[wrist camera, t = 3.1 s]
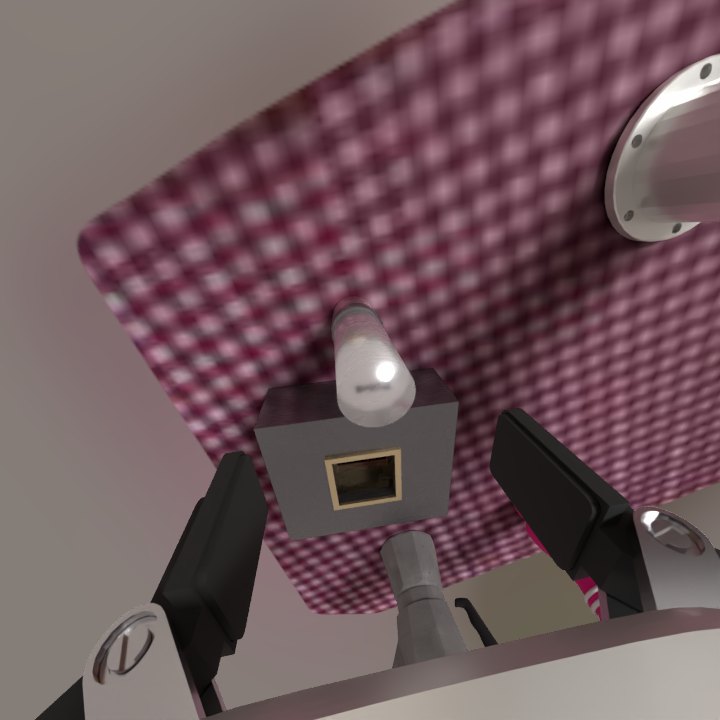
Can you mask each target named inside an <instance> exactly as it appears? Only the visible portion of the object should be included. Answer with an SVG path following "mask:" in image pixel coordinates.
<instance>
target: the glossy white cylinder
mask: <svg viewBox="0 0 720 720" xmlns="http://www.w3.org/2000/svg"><path fill="white" fill-rule="evenodd" d="M331 330H332V340H333V343H334V351H335V368H336V386H337V402H338V406H339V408H340V410H341V412H342V413H343V415H344V416H345V417H346V418H347V419H348V420H350V421H351V422H353V423H355V424H357V425H360V426H364V427H381V426H385V425H389V424H391V423H393V422H395V421H397V420H398V419H400V418H401V417H402V416H404V415H405V414H406V413H407V412H408V410H409V409H410V407H411V406H412V404H413V401H414V399H415V393H416V388H415V382H414V380H413V378H412V376H411V374H410V372H409V371H408V369H407V367H406V366H405V364H404V362H403V360H402V359H401V357H400V355H399V354H398V352H397V350H396V348H395V347H394V345H393V343H392V342H391V340H390V338H389V337H388V335H387V333H386V331H385V330H384V326H383V323H382V321H381V319H380V317H379V316H378V314H377V313H376V311H375V310H374V309H373V308H372V307H371V306H370V304H369V303H368V302H367V301H366V300H365V299H363V298H361V297H357V296H350V297H346V298H344V299H342V300H341V301H339V302H338V303H337V305H336V306H335V308H334V310H333V320H332V325H331Z"/></svg>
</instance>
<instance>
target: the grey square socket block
mask: <svg viewBox="0 0 720 720" xmlns="http://www.w3.org/2000/svg"><path fill="white" fill-rule="evenodd" d="M409 372H410V374H411V376H412V378H413V380H414V382H415V388H416V393H415V399H414V401H413V404H412V406H411V407H410V409H409V410H408V412H407V413H406V414H405V415H404V416H402V417H401V418H400V419H398V420H397V421H395V422H393V423H391V424H389V425H385V426H381V427H364V426H360V425H357V424H355V423H353V422H351V421H350V420H348V419H347V418H346V417H345V416H344V415H343V413H342V412H341V410H340V408H339V406H338V402H337V386H336V380H334V381H326V382H318V383H310V384H302V385H294V386H287V387H279V388H271V389H269V390H268V392H267V395H266V398H265V400H264V403H263V406H262V408H261V411H260V414H259V416H258V419H257V422H256V424H255V427H254V432H255V435H256V438H257V441H258V444H259V447H260V450H261V453H262V456H263V459H264V462H265V465H266V468H267V471H268V474H269V477H270V480H271V483H272V486H273V489H274V492H275V495H276V498H277V501H278V504H279V507H280V510H281V513H282V516H283V519H284V522H285V525H286V528H287V531H288V534H289V537H290V540H291V541H293V540H299V539H306V538H312V537H318V536H324V535H330V534H336V533H342V532H349V531H355V530H361V529H367V528H373V527H379V526H385V525H392V524H398V523H404V522H410V521H416V520H422V519H429V518H435V517H441V516H447V513H448V503H449V493H450V484H451V474H452V464H453V454H454V444H455V434H456V424H457V415H458V405H459V401H458V400H457V399H456V397H455V396H454V395H453V393H452V392H451V391H450V390H449V388H448V387H447V386H446V384H445V383H444V382H443V380H442V379H441V378H440V377H439V375H438V374H437V373H436V371H435V370H434V369H433V368H429V369H421V370H413V371H409ZM384 456H386V458H385V459H379V460H372V461H365V462H358V463H351V464H344V465H338V466H337V463H343V462H350V461H357V460H364V459H371V458H377V457H384Z"/></svg>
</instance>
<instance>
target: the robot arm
mask: <svg viewBox="0 0 720 720" xmlns="http://www.w3.org/2000/svg"><path fill="white" fill-rule="evenodd" d="M605 207H606V211H607V216H608V218H609V220H610V222H611V224H612V226H613V227H614V228H615V229H616V231H617V232H618V233H619V234H621V235H622V236H624V237H626V238H627V239H631V240H635V241H647V242H655V241H662V240H667V239H670V238H673V237H676V236H678V235H680V234H682V233H684V232H686V231H688V230H690V229H692V228H693V227H694V226H696V225H697V224H699V223H700V222H716V221H720V54H718V55H713V56H710V57H708V58H705V59H703V60H701V61H698V62H696V63H694V64H692V65H689V66H688V67H686V68H684V69H682V70H681V71H679V72H677V73H675V74H674V75H672V76H671V77H670V78H669V79H667V80H666V81H665V82H664V83H662V84H661V85H660V86H659V87H657V88H656V90H655V91H654V92H653V93H652V94H651V95H650V96H649V97H648V98H647V99H646V100H645V101H644V102H643V103H642V105H641V106H640V107H639V109H638V110H637V111H636V113H635V114H634V115H633V117H632V118H631V119H630V121H629V123H628V124H627V126H626V128H625V130H624V131H623V133H622V135H621V137H620V138H619V141H618V143H617V145H616V148H615V150H614V152H613V155H612V158H611V161H610V164H609V168H608V171H607V176H606V183H605ZM490 470H491V473H492V475H493V476H494V478H495V479H496V481H497V482H498V483H499V485H500V486H501V488H502V489H503V490H504V492H505V493H506V495H507V496H508V497H509V499H510V500H511V502H512V503H513V504H514V506H515V507H516V509H517V510H518V511H519V513H520V514H521V516H522V517H523V518H524V520H525V521H526V523H527V524H528V525H529V527H530V528H531V530H532V531H533V532H534V534H535V535H536V537H537V538H538V539H539V541H540V542H541V544H542V545H543V546H544V548H545V549H546V551H547V552H548V553H549V555H550V556H551V558H552V559H553V560H554V562H555V563H556V564H557V566H559V567H560V568H561V569H562V570H565V571H566V572H567V573H568V575H569V576H570V578H571V579H572V580H573V581H574V580H579V579H584V578H588V577H591V578H592V580H593V581H594V582H595V584H596V585H597V586H598V594H599V603H600V611H601V619H602V621H599V622H594V623H590V624H585V625H581V626H576V627H572V628H567V629H563V630H559V631H554V632H550V633H546V634H541V635H537V636H532V637H528V638H523V639H519V640H514V641H510V642H506V643H501V644H497V645H493V646H488V647H484V648H480V649H475V650H471V651H467V652H462V653H458V654H454V655H449V656H445V657H441V658H436V659H432V660H428V661H424V662H419V663H415V664H411V665H406V666H402V667H398V668H394V669H389V670H385V671H381V672H377V673H373V674H368V675H364V676H360V677H356V678H352V679H348V680H343V681H339V682H335V683H331V684H326V685H322V686H318V687H314V688H310V689H306V690H301V691H297V692H294V693H290V694H286V695H282V696H278V697H275V698H271V699H267V700H264V701H259V702H255V703H252V704H248V705H244V706H240V707H236V708H233V709H230V710H227V709H226V706H225V704H224V702H223V699H222V696H221V694H220V691H219V688H218V686H217V683H216V681H215V678H214V677H215V676H216V674H217V671H218V667H219V662H220V658H221V657H223V656H228V655H232V654H235V648H236V644H237V640H238V639H241V638H242V637H243V635H244V632H245V628H246V623H247V617H248V612H249V607H250V602H251V597H252V591H253V586H254V581H255V576H256V571H257V566H258V561H259V555H260V550H261V545H262V540H263V535H264V530H265V524H266V519H267V514H268V506H267V502H266V499H265V496H264V493H263V491H262V488H261V485H260V482H259V479H258V476H257V474H256V471H255V468H254V465H253V462H252V459H251V457H250V455H249V454H246V455H245V453H244V452H243V451H238V452H232V453H226V454H224V456H223V458H222V460H221V462H220V464H219V467H218V469H217V471H216V473H215V476H214V478H213V480H212V482H211V485H210V487H209V489H208V491H207V494H206V496H205V497H204V498H201V499H200V500H199V501H198V503H197V504H196V506H195V508H194V510H193V512H192V515H191V517H190V519H189V521H188V523H187V526H186V528H185V530H184V532H183V534H182V536H181V538H180V540H179V543H178V545H177V547H176V549H175V551H174V553H173V556H172V558H171V560H170V562H169V564H168V566H167V568H166V571H165V573H164V575H163V577H162V579H161V581H160V583H159V586H158V588H157V590H156V592H155V594H154V596H153V598H152V601H151V603H148V604H143V605H140V606H138V607H136V608H133V609H132V610H130V611H129V612H127V613H126V614H124V615H123V616H121V617H120V618H119V619H118V620H117V621H116V622H115V623H114V624H113V625H111V626H110V627H109V629H108V630H107V631H106V632H105V634H104V635H103V636H102V637H101V638H100V639H99V641H98V642H97V644H96V646H95V647H94V649H93V651H92V652H91V654H90V656H89V658H88V661H87V664H86V666H85V668H84V674H83V676H82V677H81V678H80V679H79V680H78V681H77V682H76V683H75V684H74V685H72V686H71V687H70V688H69V689H68V690H67V691H66V692H65V693H64V694H63V695H61V696H60V697H59V698H58V699H57V700H56V701H55V702H54V703H53V704H52V705H51V706H49V708H47V709H46V710H45V711H44V712H43V713H42V714H41V715H40V716H39V717H37V718H36V719H35V720H720V550H718V549H716V548H714V546H713V545H712V544H711V542H710V541H709V539H708V538H707V537H706V536H705V535H704V534H703V533H702V532H701V531H700V530H699V529H698V528H696V527H695V526H694V525H692V524H691V523H689V522H688V521H687V520H685V519H683V518H681V517H679V516H678V515H676V514H674V513H671V512H669V511H666V510H664V509H660V508H656V507H651V506H642V507H639V508H636V510H635V511H634V510H633V509H632V508H631V507H630V506H628V505H629V503H630V502H629V501H628V500H626V499H625V498H624V497H623V496H622V495H621V494H619V493H618V492H617V491H616V490H615V489H614V488H613V487H611V486H610V485H609V484H608V483H607V482H606V481H604V480H603V479H602V478H601V477H600V476H599V475H598V474H596V473H595V472H594V471H593V470H592V469H591V468H589V467H588V466H587V465H586V464H585V463H584V462H582V461H581V460H580V459H579V458H578V457H577V456H576V455H574V454H573V453H572V452H571V451H570V450H569V449H567V448H566V447H565V446H564V445H563V444H562V443H561V442H559V441H558V440H557V439H556V438H555V437H554V436H552V435H551V434H550V433H549V432H548V431H547V430H546V429H544V428H543V427H542V426H541V425H540V424H539V423H537V422H536V421H535V420H534V419H533V418H532V417H531V416H529V415H528V414H527V413H526V412H525V411H524V410H522V409H520V408H516V409H509V410H504V411H503V412H502V414H501V415H499V417H498V421H497V427H496V432H495V438H494V444H493V449H492V455H491V460H490Z"/></svg>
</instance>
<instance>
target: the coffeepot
mask: <svg viewBox="0 0 720 720" xmlns="http://www.w3.org/2000/svg"><path fill="white" fill-rule="evenodd" d="M380 553H381V556H382V559H383V562H384V566H385V569H386V572H387V575H388V578H389V581H390V584H391V588H392V591H393V594H394V597H395V599H396V601H397V605H398V610H399V614H398V616H397V626H398V644H397V649H396V654H395V659H394V663H393V667H392V669H394V668H398V667H402V666H406V665H411V664H415V663H419V662H424V661H428V660H432V659H436V658H441V657H445V656H449V655H454V654H458V653H462V652H467V651H468V650H467V648H466V645H465V643H464V641H463V639H462V636H461V634H460V632H459V629H458V627H457V625H456V623H455V621H454V618H453V616H452V614H451V611H450V609H449V607H448V605H447V602H446V601H445V599H444V596H443V593H442V591H443V589H442V583H441V578H440V573H439V567H438V562H437V557H436V551H435V546H434V544H433V541H432V538H431V536H430V535H429V534H427V533H425V532H421V531H405V532H401V533H398V534H396V535H394V536H392V537H391V538H389V539H388V540H387V541H386V542H385V543H384V545H383V547H382V549H381V550H380ZM455 607H462V608H464V609H465V610H466V612H467V614H468V616H469V619H470V621H471V624H472V625H473V626H474V628H475V629H476V630H477V632H478V633H479V635H480V637H481V640H482V642H483V644H484V646H485V647H488V646H493V645H497V644H498V643H497V642H496V640H495V639H494V637H493V636H492V634H491V633H490V631H489V630H488V628H487V627H486V625H485V624H484V622H483V621H482V619H481V618H480V616H479V615H478V613H477V611H476V610H475V608H474V607H473V605H472V604H471V602H470V601H469V600H468V599H467V598H457V599H455Z"/></svg>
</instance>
